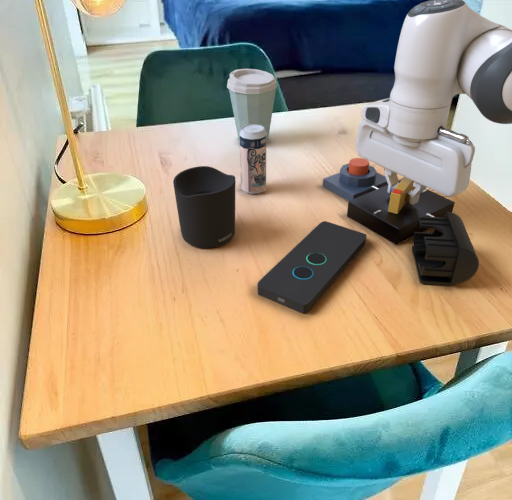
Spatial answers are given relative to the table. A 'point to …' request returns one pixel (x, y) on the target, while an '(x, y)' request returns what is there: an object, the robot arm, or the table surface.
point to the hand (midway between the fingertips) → (402, 197)
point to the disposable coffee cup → (252, 98)
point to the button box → (354, 183)
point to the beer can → (253, 158)
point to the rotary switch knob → (400, 195)
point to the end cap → (443, 251)
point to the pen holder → (205, 206)
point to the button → (358, 166)
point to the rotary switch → (396, 225)
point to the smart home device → (312, 266)
